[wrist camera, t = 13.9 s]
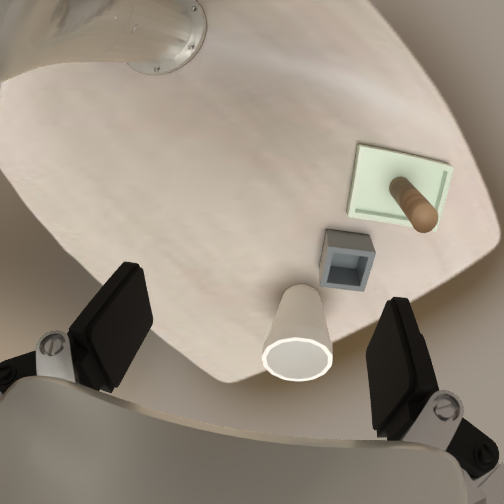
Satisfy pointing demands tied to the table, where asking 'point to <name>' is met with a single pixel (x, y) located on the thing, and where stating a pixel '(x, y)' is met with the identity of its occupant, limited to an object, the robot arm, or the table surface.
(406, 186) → the dowel
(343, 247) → the pen cup
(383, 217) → the tray
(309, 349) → the foam cup
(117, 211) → the table surface
